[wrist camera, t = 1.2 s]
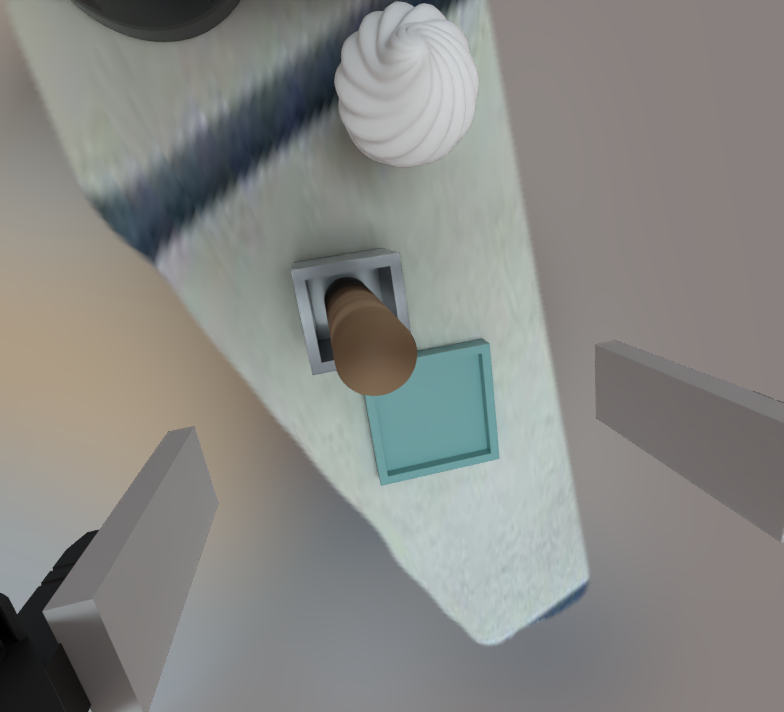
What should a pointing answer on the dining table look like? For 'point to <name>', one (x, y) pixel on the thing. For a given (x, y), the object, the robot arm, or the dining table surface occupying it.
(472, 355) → the tray
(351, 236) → the dining table surface
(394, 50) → the soft serve ice cream cone
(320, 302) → the open box
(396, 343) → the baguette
